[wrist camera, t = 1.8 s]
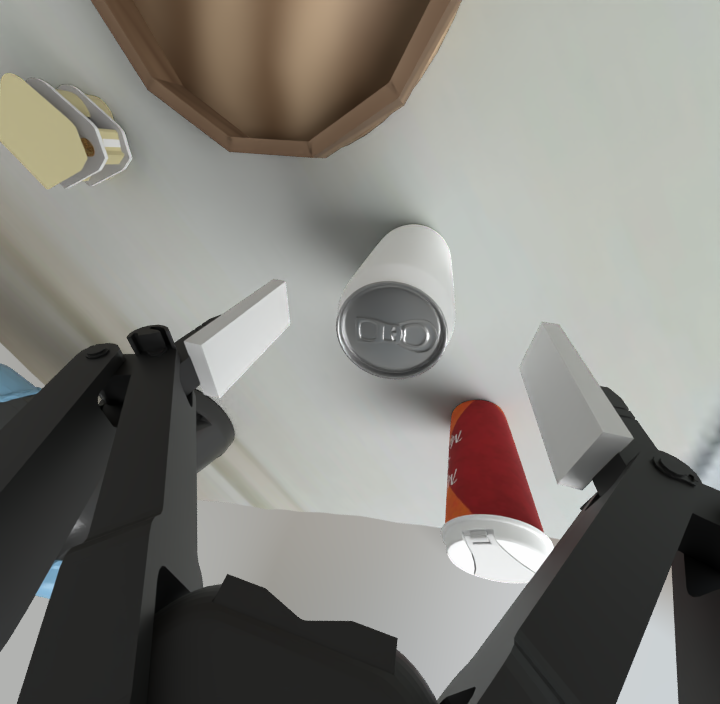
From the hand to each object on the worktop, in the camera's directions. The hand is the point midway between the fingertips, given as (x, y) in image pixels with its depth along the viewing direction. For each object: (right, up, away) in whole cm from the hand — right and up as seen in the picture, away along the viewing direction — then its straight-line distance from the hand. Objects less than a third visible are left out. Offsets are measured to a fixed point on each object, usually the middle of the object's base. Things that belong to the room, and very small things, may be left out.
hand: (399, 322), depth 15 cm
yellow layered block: (-24, +17, +10) cm, 31 cm away
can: (+2, +6, +9) cm, 11 cm away
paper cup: (+11, -9, +16) cm, 22 cm away
